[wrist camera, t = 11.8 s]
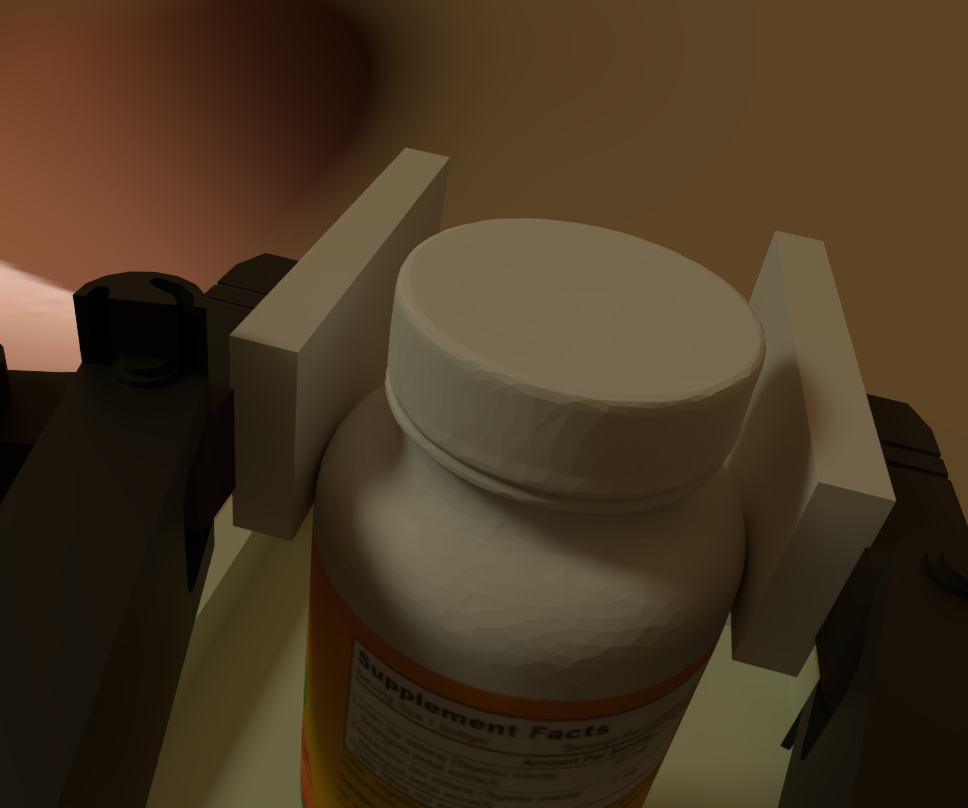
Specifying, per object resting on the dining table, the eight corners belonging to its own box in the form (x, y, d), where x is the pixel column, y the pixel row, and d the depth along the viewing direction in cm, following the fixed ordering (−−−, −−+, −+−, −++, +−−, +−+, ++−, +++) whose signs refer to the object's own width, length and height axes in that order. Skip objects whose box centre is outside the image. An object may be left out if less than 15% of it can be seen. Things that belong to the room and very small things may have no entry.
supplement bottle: (387, 627, 18) (449, 158, 12) (646, 734, 16) (845, 270, 11) (230, 875, 13) (213, 321, 8) (566, 1044, 12) (827, 536, 7)
